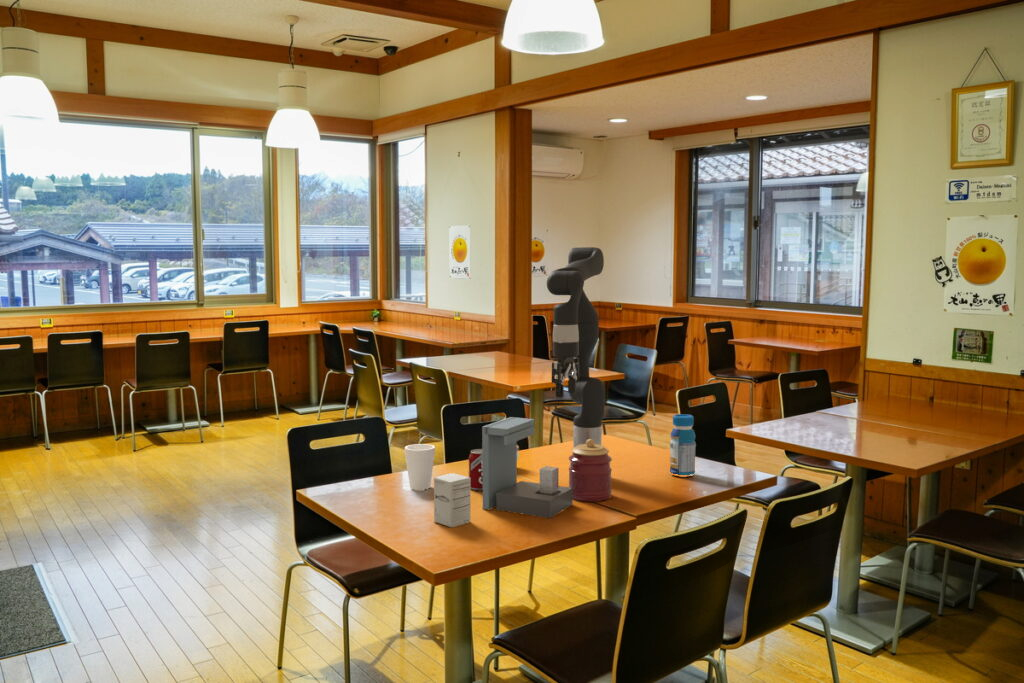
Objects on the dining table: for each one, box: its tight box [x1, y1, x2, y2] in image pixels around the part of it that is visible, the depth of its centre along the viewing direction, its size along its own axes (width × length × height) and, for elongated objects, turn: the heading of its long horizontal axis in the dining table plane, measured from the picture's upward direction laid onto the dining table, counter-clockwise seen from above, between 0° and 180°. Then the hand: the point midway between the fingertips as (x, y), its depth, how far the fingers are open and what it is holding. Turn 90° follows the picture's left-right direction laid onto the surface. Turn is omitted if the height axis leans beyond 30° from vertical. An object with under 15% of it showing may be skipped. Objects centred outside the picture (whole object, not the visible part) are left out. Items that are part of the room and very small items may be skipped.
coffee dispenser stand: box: [481, 416, 535, 510], centre depth 245 cm, size 17×8×24 cm, turn 151°
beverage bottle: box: [669, 413, 697, 475], centre depth 277 cm, size 8×8×20 cm
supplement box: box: [433, 472, 472, 528], centre depth 228 cm, size 7×7×13 cm
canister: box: [568, 439, 613, 503], centre depth 252 cm, size 13×13×18 cm
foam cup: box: [404, 443, 436, 491], centre depth 263 cm, size 10×9×13 cm
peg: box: [539, 465, 559, 496], centre depth 240 cm, size 4×4×12 cm
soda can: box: [468, 448, 483, 491], centre depth 262 cm, size 7×7×12 cm
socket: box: [495, 480, 573, 519], centre depth 242 cm, size 15×17×5 cm
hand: (565, 395), depth 244 cm, fingers open, 8 cm apart
